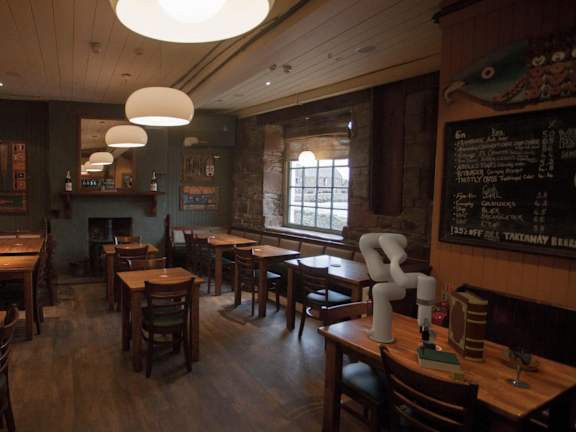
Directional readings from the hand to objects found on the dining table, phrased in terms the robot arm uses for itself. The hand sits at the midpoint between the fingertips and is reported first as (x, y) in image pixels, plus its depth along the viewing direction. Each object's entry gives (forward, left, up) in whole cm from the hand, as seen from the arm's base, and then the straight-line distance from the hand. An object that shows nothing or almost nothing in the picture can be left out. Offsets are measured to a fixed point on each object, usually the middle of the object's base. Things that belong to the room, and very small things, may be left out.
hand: (424, 336), depth 188 cm
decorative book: (+21, +23, -13) cm, 34 cm away
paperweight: (+12, -13, -13) cm, 22 cm away
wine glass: (+35, -6, -13) cm, 38 cm away
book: (+6, 0, -13) cm, 14 cm away
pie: (+41, +16, -13) cm, 46 cm away
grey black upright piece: (+4, +19, -13) cm, 24 cm away
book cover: (+6, 0, -9) cm, 11 cm away
